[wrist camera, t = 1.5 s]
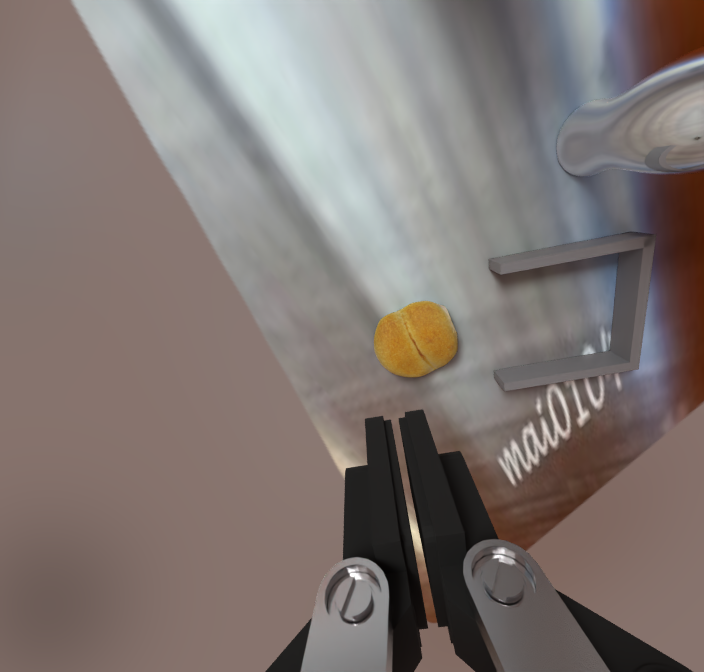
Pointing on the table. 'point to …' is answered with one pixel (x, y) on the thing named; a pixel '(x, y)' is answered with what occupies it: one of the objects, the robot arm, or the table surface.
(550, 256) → the frame
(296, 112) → the table surface
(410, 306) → the bread roll
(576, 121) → the beer glass
